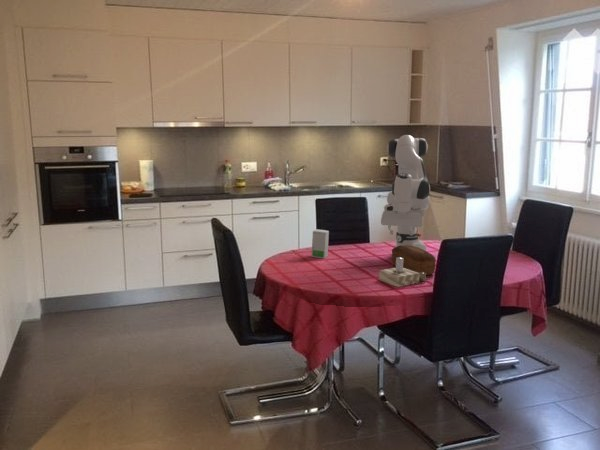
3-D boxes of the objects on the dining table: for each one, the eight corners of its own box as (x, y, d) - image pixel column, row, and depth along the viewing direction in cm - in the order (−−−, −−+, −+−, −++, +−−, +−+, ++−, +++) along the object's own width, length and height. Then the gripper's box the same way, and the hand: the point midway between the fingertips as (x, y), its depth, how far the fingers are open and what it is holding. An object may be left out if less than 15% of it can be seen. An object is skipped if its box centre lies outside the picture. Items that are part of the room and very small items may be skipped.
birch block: (399, 276, 299) (400, 266, 298) (418, 282, 287) (419, 273, 286) (378, 280, 291) (379, 270, 290) (397, 287, 280) (398, 277, 279)
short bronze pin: (421, 280, 292) (422, 271, 291) (427, 281, 289) (427, 273, 288) (416, 281, 290) (417, 272, 289) (421, 283, 287) (422, 274, 286)
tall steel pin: (399, 280, 292) (400, 257, 290) (403, 281, 289) (405, 258, 287) (393, 281, 290) (394, 257, 288) (398, 282, 287) (399, 259, 285)
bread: (409, 262, 327) (410, 241, 324) (438, 275, 301) (440, 252, 299) (387, 265, 322) (388, 243, 319) (416, 278, 296) (417, 255, 294)
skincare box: (311, 257, 336) (311, 230, 333) (315, 254, 342) (315, 228, 339) (324, 258, 333) (325, 232, 330) (328, 256, 339) (329, 230, 336)
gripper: (424, 206, 283) (422, 234, 286) (382, 205, 287) (381, 232, 290) (424, 209, 277) (422, 237, 280) (381, 207, 281) (380, 234, 284)
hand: (401, 234), depth 285 cm, fingers open, 8 cm apart
